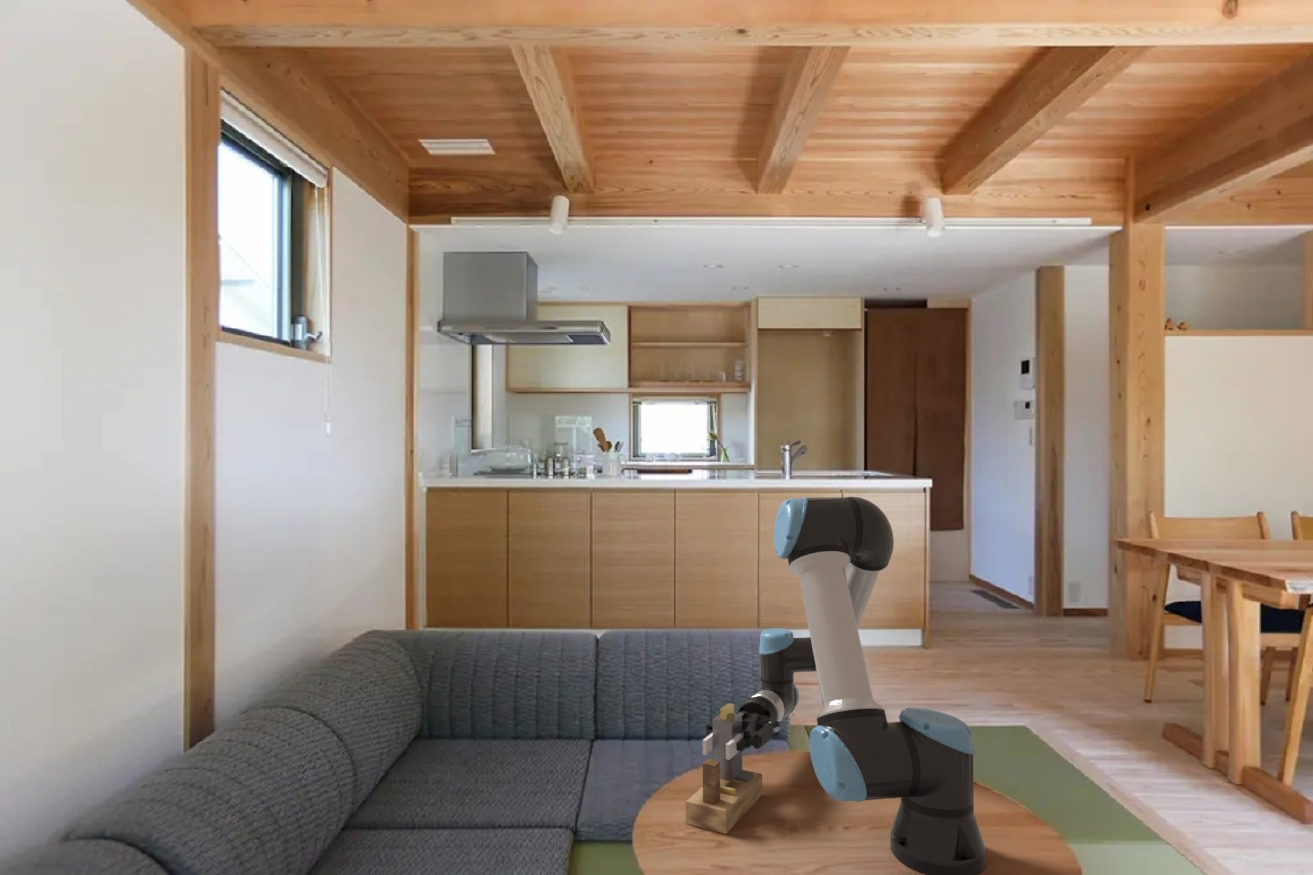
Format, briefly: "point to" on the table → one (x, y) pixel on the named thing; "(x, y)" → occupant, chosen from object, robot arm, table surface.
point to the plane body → (722, 798)
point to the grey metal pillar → (723, 732)
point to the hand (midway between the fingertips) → (716, 749)
